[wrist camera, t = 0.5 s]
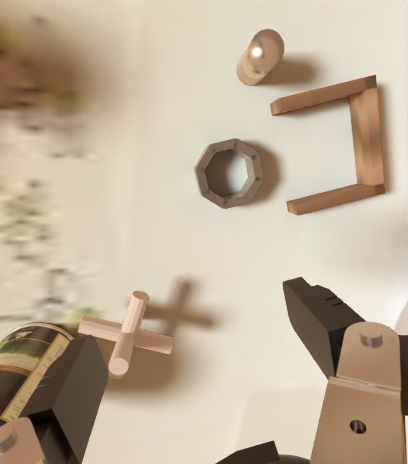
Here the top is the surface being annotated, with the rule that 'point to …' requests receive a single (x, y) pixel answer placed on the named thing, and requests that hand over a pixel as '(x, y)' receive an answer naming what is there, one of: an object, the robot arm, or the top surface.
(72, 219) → the top surface
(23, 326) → the coffee can
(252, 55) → the beige rounded cylinder
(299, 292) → the robot arm
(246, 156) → the metal ring
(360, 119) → the groove block
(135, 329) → the pipe connector
